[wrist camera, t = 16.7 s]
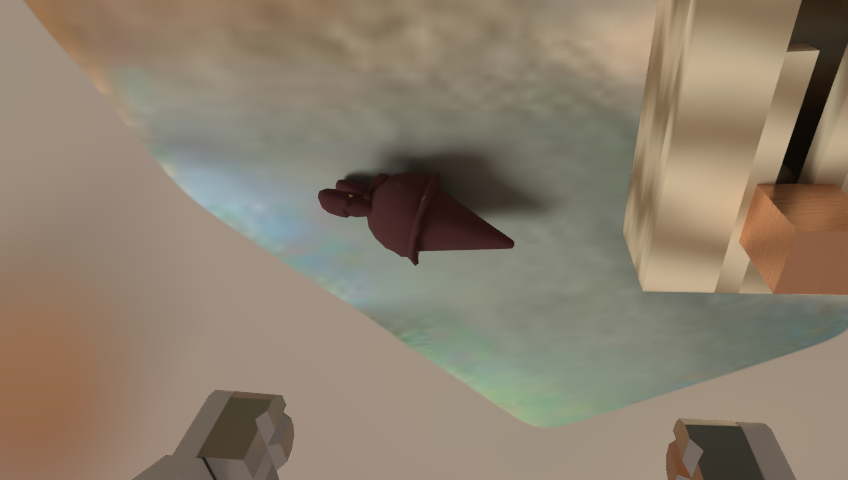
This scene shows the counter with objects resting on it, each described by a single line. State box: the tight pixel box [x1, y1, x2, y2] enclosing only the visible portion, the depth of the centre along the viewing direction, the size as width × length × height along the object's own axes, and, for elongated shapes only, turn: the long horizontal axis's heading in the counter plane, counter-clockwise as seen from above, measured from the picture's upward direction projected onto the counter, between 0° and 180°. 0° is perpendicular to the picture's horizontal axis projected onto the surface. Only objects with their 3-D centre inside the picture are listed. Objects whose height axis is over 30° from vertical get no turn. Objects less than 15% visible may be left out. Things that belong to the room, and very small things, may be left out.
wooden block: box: [739, 163, 848, 295], centre depth 29 cm, size 4×4×9 cm
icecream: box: [318, 172, 514, 266], centre depth 39 cm, size 7×7×15 cm
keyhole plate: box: [623, 0, 848, 295], centre depth 30 cm, size 24×14×8 cm, turn 5°
